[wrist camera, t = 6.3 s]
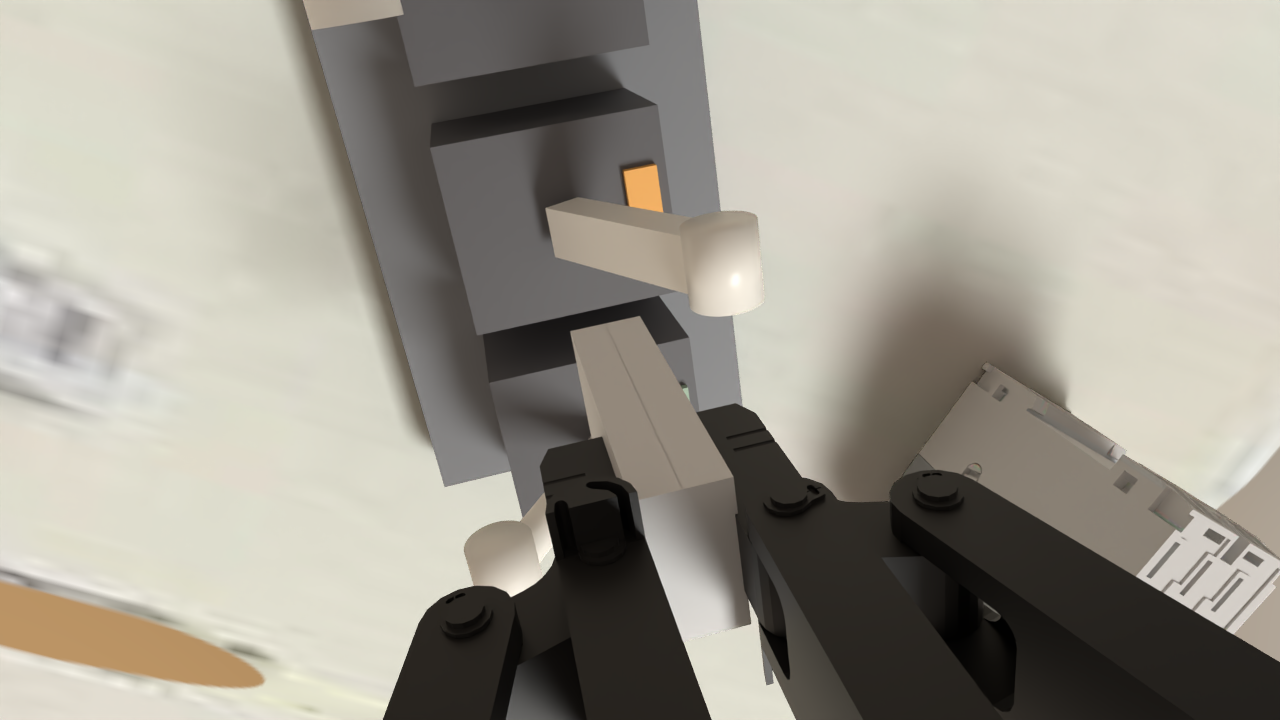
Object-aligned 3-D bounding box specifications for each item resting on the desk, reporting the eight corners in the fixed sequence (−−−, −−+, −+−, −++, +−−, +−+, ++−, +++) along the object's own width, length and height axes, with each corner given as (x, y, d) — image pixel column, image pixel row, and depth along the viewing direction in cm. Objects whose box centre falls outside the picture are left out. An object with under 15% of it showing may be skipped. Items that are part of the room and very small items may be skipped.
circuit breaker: (842, 556, 52) (984, 754, 38) (986, 361, 48) (1197, 504, 35) (929, 594, 54) (1090, 792, 41) (1071, 413, 51) (1296, 563, 38)
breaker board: (657, -177, 35) (832, -315, 19) (725, 389, 45) (872, 592, 30) (277, -123, 33) (132, -228, 17) (444, 456, 43) (447, 710, 28)
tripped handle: (585, 185, 31) (773, 215, 24) (596, 249, 32) (780, 296, 25) (534, 202, 29) (717, 239, 23) (547, 268, 30) (726, 322, 24)
